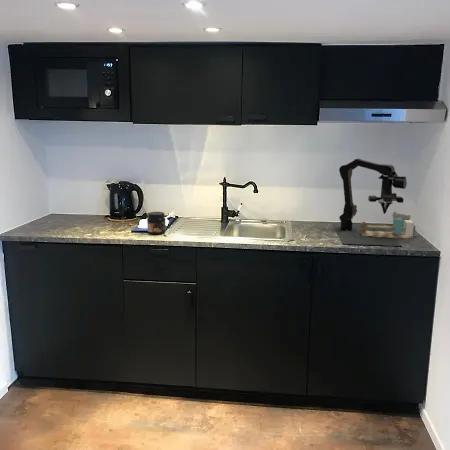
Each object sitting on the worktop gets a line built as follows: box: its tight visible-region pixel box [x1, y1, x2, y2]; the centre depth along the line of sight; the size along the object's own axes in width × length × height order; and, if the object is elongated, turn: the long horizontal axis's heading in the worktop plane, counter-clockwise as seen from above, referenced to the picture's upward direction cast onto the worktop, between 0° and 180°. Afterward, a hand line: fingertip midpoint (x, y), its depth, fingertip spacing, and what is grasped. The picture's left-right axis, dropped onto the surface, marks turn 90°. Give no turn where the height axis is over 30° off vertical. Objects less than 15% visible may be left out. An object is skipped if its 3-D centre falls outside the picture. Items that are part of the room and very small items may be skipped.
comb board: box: [359, 221, 414, 239], centre depth 277 cm, size 28×10×7 cm, turn 82°
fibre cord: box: [366, 224, 405, 229], centre depth 276 cm, size 23×1×1 cm, turn 82°
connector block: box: [402, 219, 416, 237], centre depth 274 cm, size 6×7×8 cm
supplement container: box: [146, 211, 166, 236], centre depth 275 cm, size 10×10×12 cm
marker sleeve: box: [391, 218, 403, 235], centre depth 275 cm, size 4×6×8 cm, turn 172°
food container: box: [391, 211, 412, 232], centre depth 290 cm, size 12×6×10 cm, turn 27°
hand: (384, 213), depth 275 cm, fingers closed
